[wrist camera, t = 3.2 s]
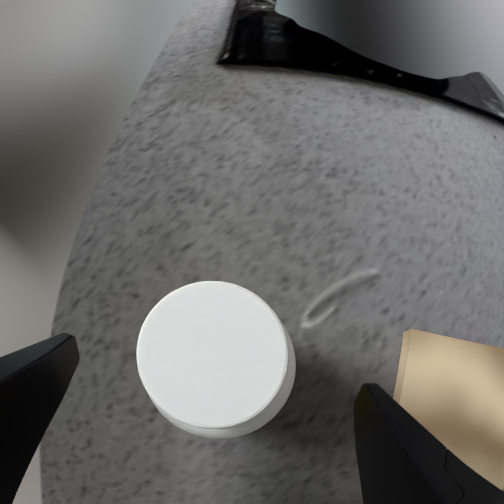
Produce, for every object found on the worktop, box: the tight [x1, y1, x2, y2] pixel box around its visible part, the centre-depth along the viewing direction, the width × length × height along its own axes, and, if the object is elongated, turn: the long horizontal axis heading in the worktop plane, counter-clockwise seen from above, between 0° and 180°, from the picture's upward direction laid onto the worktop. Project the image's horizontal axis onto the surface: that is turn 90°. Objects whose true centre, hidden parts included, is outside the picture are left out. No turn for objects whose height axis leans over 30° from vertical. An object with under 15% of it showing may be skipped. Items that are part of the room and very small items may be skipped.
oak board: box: [363, 329, 504, 504], centre depth 14 cm, size 14×12×1 cm
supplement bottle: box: [137, 281, 296, 439], centre depth 12 cm, size 5×5×10 cm
